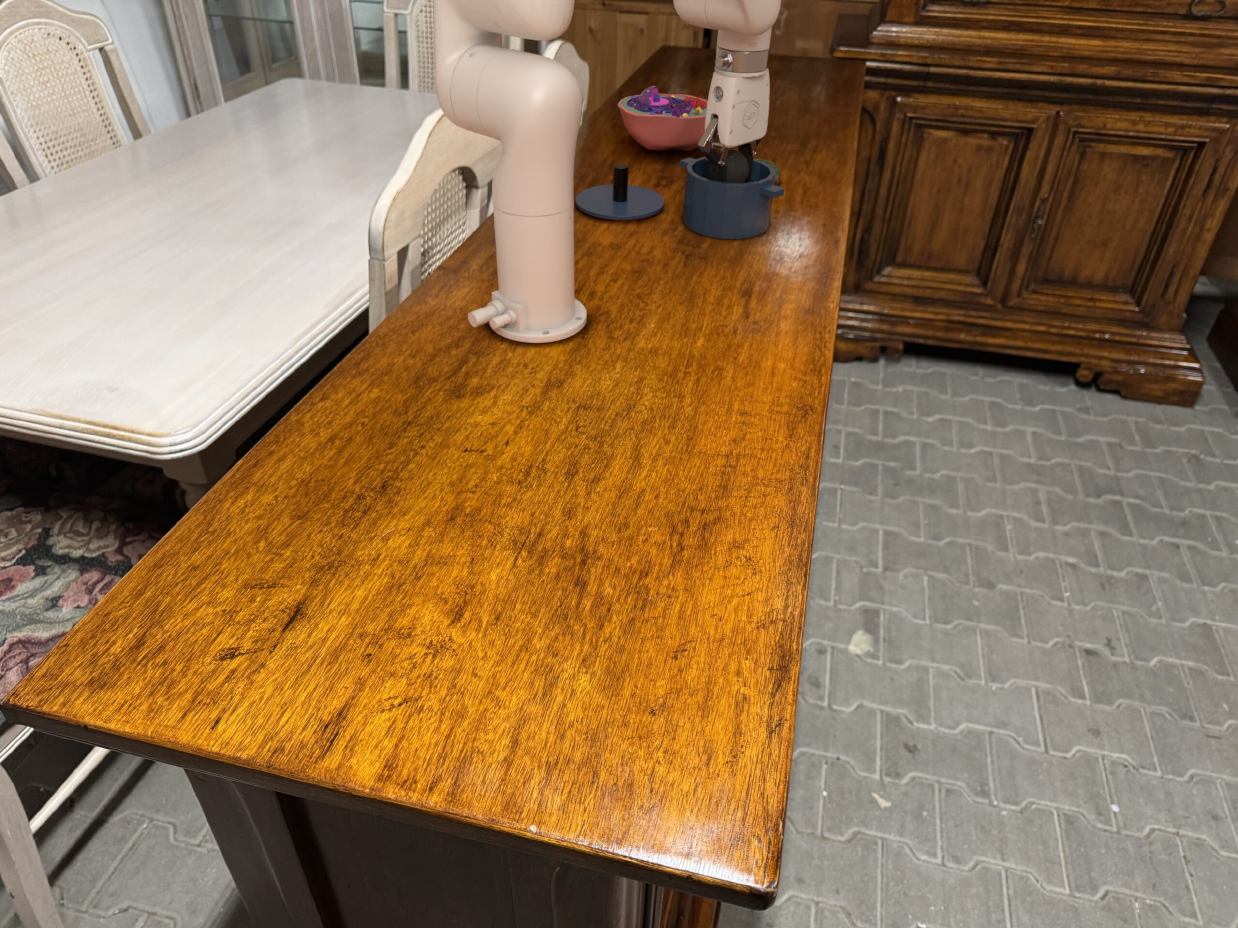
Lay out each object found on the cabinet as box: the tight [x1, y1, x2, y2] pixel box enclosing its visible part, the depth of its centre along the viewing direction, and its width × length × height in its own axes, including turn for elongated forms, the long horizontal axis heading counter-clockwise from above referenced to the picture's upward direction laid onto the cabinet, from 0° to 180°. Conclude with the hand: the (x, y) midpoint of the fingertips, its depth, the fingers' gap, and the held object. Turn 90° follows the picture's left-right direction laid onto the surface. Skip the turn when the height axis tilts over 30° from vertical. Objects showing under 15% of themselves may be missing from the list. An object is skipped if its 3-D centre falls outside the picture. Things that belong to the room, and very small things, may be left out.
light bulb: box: [724, 149, 749, 183], centre depth 137 cm, size 6×6×10 cm
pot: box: [679, 156, 785, 240], centre depth 138 cm, size 14×19×8 cm
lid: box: [575, 163, 665, 221], centre depth 143 cm, size 15×15×7 cm
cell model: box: [617, 85, 708, 152], centre depth 166 cm, size 17×20×11 cm
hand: (728, 183), depth 137 cm, fingers closed on light bulb, 5 cm apart
